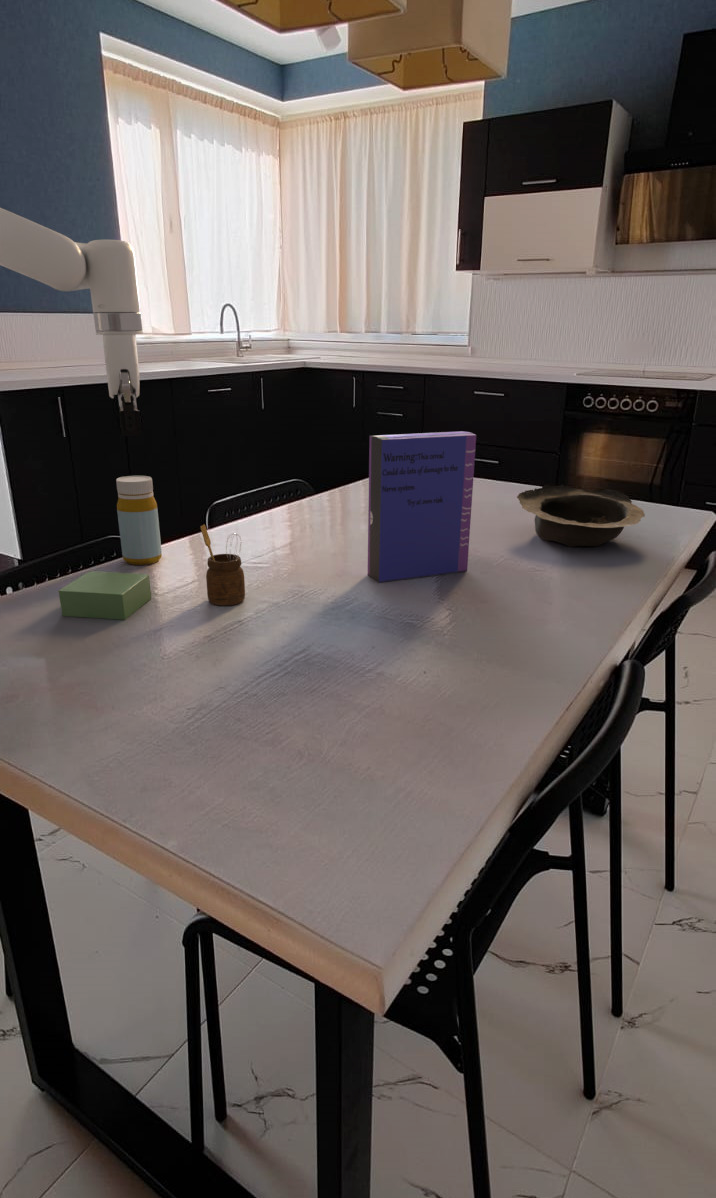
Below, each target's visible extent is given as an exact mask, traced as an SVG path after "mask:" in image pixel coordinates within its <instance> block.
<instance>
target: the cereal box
mask: <svg viewBox="0 0 716 1198" xmlns="http://www.w3.org/2000/svg"><path fill="white" fill-rule="evenodd" d="M368 444H369V449H368V451H369V452H368V454H369V455H368V513H367V515H368V517H367V520H368V521H367V532H368V533H367V576H368V577H369V578H371V579H373V580H374V581H376V582H377V583H378V584H380V583H387V582H395V581H404V580H412V579H419V578H428V577H435V576H444V575H450V574H459V573H466V572H468V563H469V549H470V535H471V521H472V519H471V518H472V505H473V491H474V490H473V489H474V478H475V477H474V475H475V462H476V461H475V460H476V448H477V447H476V445H477V434H475V433H473V432H470V431H462V430H461V431H441V432H440V431H439V432H422V433H421V432H420V433H419V432H418V433H401V434H400V433H399V434H379V435H369V443H368Z"/></svg>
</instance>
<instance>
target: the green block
mask: <svg viewBox="0 0 716 1198" xmlns="http://www.w3.org/2000/svg"><path fill="white" fill-rule="evenodd" d="M150 579H151V578H150V574H147V573H133V572H132V573H131V572H129V573H128V572H113V571H112V572H110V571H96V570H95V571H94V570H92V571H91V570H89V571H88V572H86V573H85V574H83V575H82V576H80V577H78V578H77V579H75V580H73V581H72V582H70V583H68V584H67V585H64V587H62V588H60V589H59V590H58V597H59V605H60V609H61V610H60V612H61V616H62V617H74V618H88V619H103V620H104V619H105V620H119V621H120V620H121V621H125V620H127V619H128V618H129V617H130V616H132V615H133V614H135V612H137V611H138V610H140V608H141V607H143V606H144V605H145V604H147V603H148V602H149V601H150V600H151V599H152V588H151V580H150Z"/></svg>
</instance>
